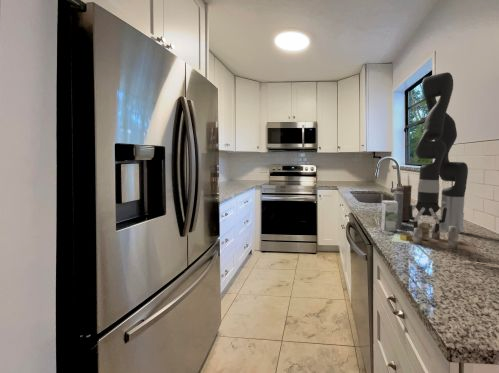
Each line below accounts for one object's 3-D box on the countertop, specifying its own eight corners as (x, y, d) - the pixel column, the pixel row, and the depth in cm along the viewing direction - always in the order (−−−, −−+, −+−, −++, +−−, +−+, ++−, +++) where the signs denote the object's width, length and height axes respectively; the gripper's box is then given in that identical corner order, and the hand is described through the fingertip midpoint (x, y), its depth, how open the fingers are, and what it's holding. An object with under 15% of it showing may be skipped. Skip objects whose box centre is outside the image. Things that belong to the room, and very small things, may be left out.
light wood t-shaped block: (429, 224, 136) (430, 216, 127) (428, 240, 134) (428, 234, 125) (421, 223, 137) (421, 216, 129) (420, 239, 135) (419, 233, 127)
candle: (408, 222, 176) (410, 186, 174) (394, 221, 180) (396, 185, 178) (410, 220, 183) (412, 185, 181) (396, 219, 186) (398, 184, 185)
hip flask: (392, 222, 176) (394, 185, 174) (400, 223, 175) (402, 186, 173) (394, 228, 161) (396, 188, 159) (403, 229, 160) (405, 188, 158)
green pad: (411, 237, 143) (412, 235, 143) (408, 245, 129) (408, 243, 129) (395, 235, 146) (396, 233, 146) (390, 243, 132) (390, 241, 132)
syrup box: (392, 229, 159) (393, 200, 158) (396, 232, 153) (398, 201, 152) (380, 229, 159) (381, 199, 158) (384, 231, 154) (385, 201, 152)
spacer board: (473, 244, 132) (475, 227, 131) (477, 255, 118) (478, 236, 117) (412, 237, 143) (412, 221, 143) (408, 245, 129) (409, 228, 128)
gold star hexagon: (407, 237, 139) (407, 232, 139) (414, 240, 134) (414, 235, 134) (396, 237, 138) (397, 233, 138) (403, 240, 134) (403, 235, 133)
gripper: (449, 191, 131) (446, 231, 132) (409, 189, 138) (407, 227, 140) (449, 192, 124) (446, 235, 126) (407, 190, 132) (405, 230, 133)
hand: (425, 231), depth 133 cm, fingers open, 6 cm apart
